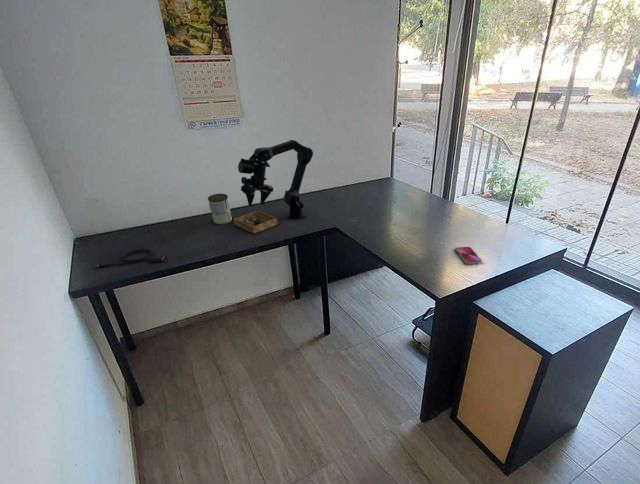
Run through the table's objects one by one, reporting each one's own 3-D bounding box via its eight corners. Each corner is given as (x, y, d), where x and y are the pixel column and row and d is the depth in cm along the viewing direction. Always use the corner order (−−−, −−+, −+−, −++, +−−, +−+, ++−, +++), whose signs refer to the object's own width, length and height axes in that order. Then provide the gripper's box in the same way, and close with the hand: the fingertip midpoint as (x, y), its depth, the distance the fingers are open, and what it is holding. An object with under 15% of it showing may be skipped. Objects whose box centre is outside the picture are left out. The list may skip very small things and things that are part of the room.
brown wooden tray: (258, 217, 219) (257, 210, 217) (277, 225, 209) (276, 218, 207) (234, 225, 209) (233, 218, 207) (254, 234, 199) (252, 227, 197)
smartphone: (469, 246, 183) (482, 261, 170) (469, 248, 183) (482, 263, 171) (454, 247, 182) (466, 262, 169) (454, 249, 183) (466, 264, 170)
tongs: (244, 222, 211) (243, 218, 210) (252, 219, 214) (251, 215, 213) (259, 229, 203) (258, 224, 202) (267, 226, 207) (267, 221, 205)
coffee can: (210, 220, 216) (205, 195, 208) (228, 216, 221) (224, 192, 213) (216, 226, 209) (210, 201, 201) (234, 221, 213) (230, 197, 206)
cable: (108, 254, 182) (107, 251, 181) (170, 248, 186) (169, 246, 185) (97, 268, 171) (95, 265, 170) (163, 262, 175) (162, 259, 174)
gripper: (258, 170, 204) (255, 199, 210) (233, 171, 188) (231, 202, 194) (275, 176, 200) (271, 205, 206) (251, 176, 184) (248, 208, 190)
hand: (255, 205), depth 199 cm, fingers open, 9 cm apart
